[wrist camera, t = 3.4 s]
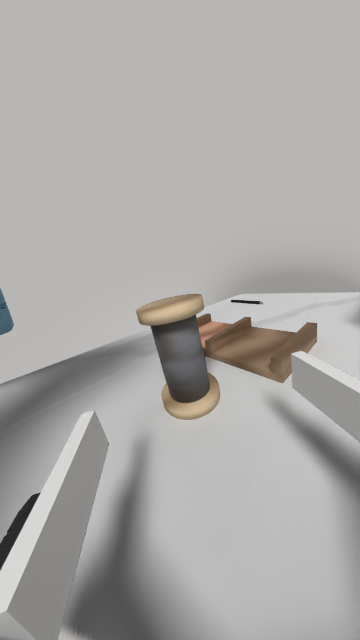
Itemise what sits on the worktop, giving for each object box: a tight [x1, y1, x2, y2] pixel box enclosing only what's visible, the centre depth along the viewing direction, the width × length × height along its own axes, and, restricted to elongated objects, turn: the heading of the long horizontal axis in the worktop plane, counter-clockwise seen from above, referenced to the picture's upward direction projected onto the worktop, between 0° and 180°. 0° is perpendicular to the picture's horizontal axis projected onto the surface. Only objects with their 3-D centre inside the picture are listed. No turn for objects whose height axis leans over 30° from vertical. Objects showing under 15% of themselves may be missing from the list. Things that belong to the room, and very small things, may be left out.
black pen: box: [231, 300, 263, 304], centre depth 57 cm, size 12×1×1 cm, turn 30°
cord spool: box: [136, 294, 220, 420], centre depth 20 cm, size 7×7×12 cm
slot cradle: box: [197, 314, 317, 383], centre depth 32 cm, size 23×12×3 cm, turn 39°
